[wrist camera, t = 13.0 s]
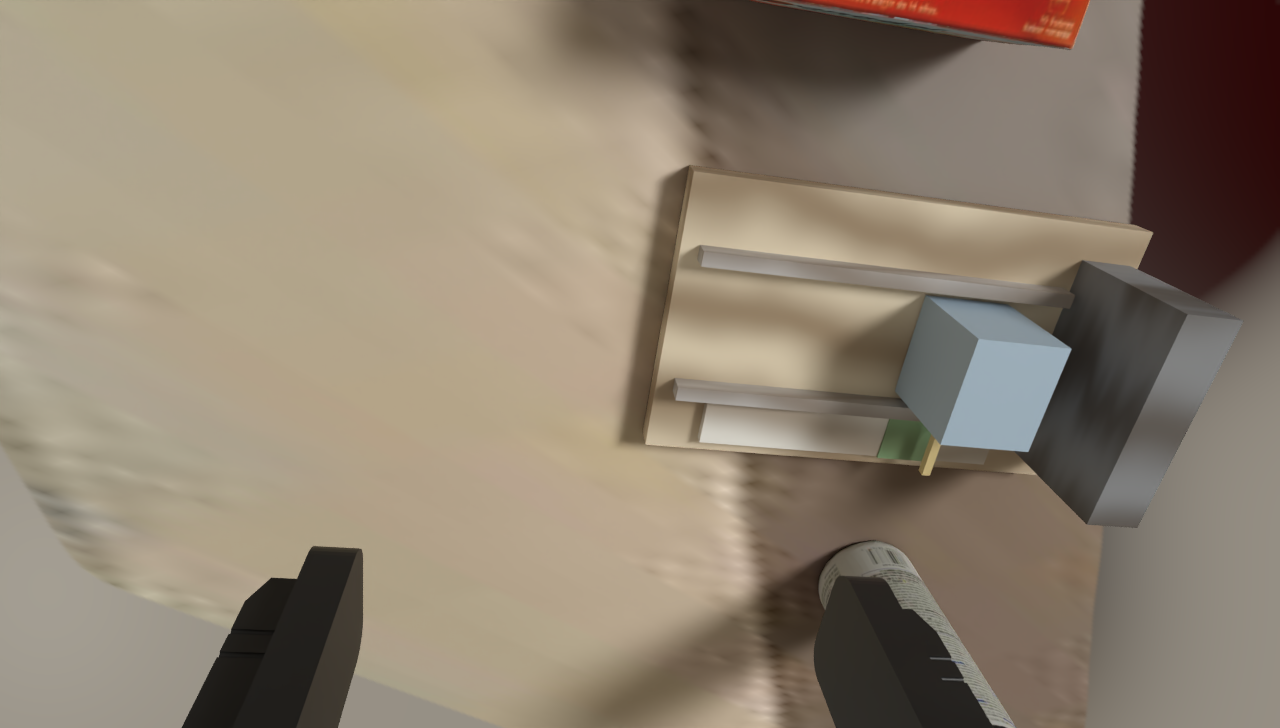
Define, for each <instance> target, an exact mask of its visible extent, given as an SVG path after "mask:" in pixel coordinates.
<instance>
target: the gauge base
mask: <svg viewBox="0 0 1280 728" xmlns="http://www.w3.org/2000/svg"><path fill="white" fill-rule="evenodd" d="M1152 234H1153V232H1151V231H1148V230H1145V229H1143V228H1141V227H1138V226H1136V225H1130V224H1123V223H1115V222H1108V221H1100V220H1093V219H1086V218H1078V217H1071V216H1063V215H1056V214H1048V213H1041V212H1034V211H1026V210H1019V209H1011V208H1004V207H997V206H989V205H982V204H974V203H967V202H959V201H952V200H945V199H937V198H930V197H922V196H915V195H908V194H900V193H893V192H885V191H878V190H870V189H863V188H856V187H848V186H841V185H833V184H826V183H819V182H811V181H804V180H796V179H789V178H782V177H774V176H767V175H759V174H752V173H744V172H737V171H730V170H722V169H715V168H707V167H700V166H693V165H689V170H688V176H687V181H686V187H685V193H684V199H683V204H682V210H681V216H680V221H679V227H678V233H677V238H676V244H675V250H674V256H673V261H672V267H671V273H670V278H669V284H668V290H667V296H666V301H665V307H664V313H663V318H662V324H661V330H660V336H659V341H658V347H657V353H656V358H655V364H654V370H653V376H652V381H651V387H650V393H649V398H648V404H647V410H646V416H645V421H644V427H643V436H644V441H645V445H656V446H669V447H682V448H695V449H708V450H721V451H734V452H747V453H760V454H773V455H786V456H799V457H812V458H825V459H838V460H851V461H864V462H877V463H890V464H903V465H916V466H920V464H921V462H922V459H923V456H924V453H925V450H926V448H927V445H928V442H929V439H930V436H931V433H930V432H929V431H928V430H927V428H926V427H925V426H924V425H923V424H922V423H921V421H920V420H919V419H918V418H917V417H916V415H915V414H914V413H913V412H912V411H911V410H910V408H909V407H908V406H907V405H906V404H905V402H904V401H903V400H902V399H901V398H900V397H899V395H898V394H897V393H896V392H895V388H896V385H897V382H898V379H899V376H900V373H901V370H902V367H903V364H904V360H905V357H906V354H907V351H908V348H909V345H910V342H911V339H912V336H913V333H914V330H915V326H916V323H917V320H918V317H919V314H920V311H921V308H922V305H923V302H924V299H925V296H926V295H929V296H938V297H947V298H955V299H964V300H973V301H982V302H991V303H999V304H1008V305H1009V306H1011V307H1012V308H1014V309H1015V310H1017V311H1018V312H1020V313H1021V314H1022V315H1024V316H1025V317H1027V318H1028V319H1030V320H1031V321H1032V322H1034V323H1035V324H1037V325H1038V326H1040V327H1041V328H1043V329H1044V330H1045V331H1047V332H1048V333H1050V334H1051V335H1053V336H1054V337H1055V338H1057V339H1058V340H1060V341H1061V342H1063V343H1064V344H1065V345H1067V346H1068V347H1070V348H1071V352H1070V354H1069V356H1068V359H1067V361H1066V364H1065V366H1064V368H1063V371H1062V373H1061V375H1060V378H1059V380H1058V383H1057V385H1056V387H1055V390H1054V392H1053V394H1052V397H1051V399H1050V402H1049V404H1048V406H1047V409H1046V411H1045V413H1044V416H1043V418H1042V421H1041V423H1040V425H1039V428H1038V430H1037V432H1036V435H1035V437H1034V440H1033V442H1032V444H1031V447H1030V449H1029V451H1028V452H1022V451H1010V450H997V449H985V448H973V447H961V446H949V445H941V446H940V449H939V452H938V454H937V457H936V460H935V463H934V465H933V467H942V468H954V469H967V470H980V471H993V472H1006V473H1019V474H1032V475H1038V476H1039V477H1040V478H1041V479H1042V480H1043V481H1044V482H1045V483H1046V484H1047V485H1048V486H1049V487H1050V488H1051V489H1052V490H1053V491H1054V492H1055V493H1056V494H1057V495H1058V496H1059V497H1060V498H1061V499H1062V500H1063V501H1064V502H1065V503H1066V504H1067V505H1068V506H1069V507H1070V508H1071V509H1072V510H1073V511H1074V512H1075V513H1076V514H1077V515H1078V516H1079V517H1080V518H1081V519H1082V520H1083V521H1084V522H1085V523H1086V524H1087V525H1102V526H1117V527H1131V528H1137V527H1138V525H1139V523H1140V522H1141V520H1142V518H1143V515H1144V513H1145V512H1146V510H1147V508H1148V506H1149V504H1150V502H1151V500H1152V498H1153V496H1154V494H1155V492H1156V490H1157V488H1158V486H1159V485H1160V483H1161V481H1162V479H1163V477H1164V475H1165V473H1166V471H1167V469H1168V467H1169V465H1170V463H1171V461H1172V459H1173V457H1174V455H1175V453H1176V452H1177V450H1178V447H1179V446H1180V444H1181V442H1182V440H1183V438H1184V436H1185V434H1186V432H1187V430H1188V428H1189V426H1190V424H1191V422H1192V420H1193V418H1194V417H1195V415H1196V412H1197V411H1198V409H1199V407H1200V405H1201V403H1202V401H1203V399H1204V397H1205V395H1206V393H1207V391H1208V389H1209V387H1210V385H1211V383H1212V381H1213V380H1214V378H1215V376H1216V374H1217V372H1218V370H1219V368H1220V366H1221V364H1222V362H1223V360H1224V358H1225V356H1226V354H1227V352H1228V350H1229V348H1230V346H1231V344H1232V343H1233V341H1234V339H1235V337H1236V335H1237V333H1238V331H1239V329H1240V327H1241V325H1242V323H1243V320H1241V319H1239V318H1237V317H1235V316H1233V315H1231V314H1228V313H1226V312H1224V311H1222V310H1220V309H1218V308H1216V307H1214V306H1212V305H1210V304H1208V303H1206V302H1204V301H1202V300H1200V299H1197V298H1195V297H1193V296H1191V295H1189V294H1187V293H1185V292H1183V291H1181V290H1179V289H1177V288H1175V287H1173V286H1171V285H1168V284H1166V283H1164V282H1162V281H1160V280H1158V279H1156V278H1154V277H1152V276H1150V275H1147V274H1146V273H1144V272H1141V271H1139V270H1137V268H1138V266H1139V264H1140V262H1141V259H1142V257H1143V255H1144V253H1145V250H1146V248H1147V246H1148V243H1149V241H1150V239H1151V237H1152Z"/></svg>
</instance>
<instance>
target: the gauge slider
mask: <svg viewBox="0 0 1280 728" xmlns="http://www.w3.org/2000/svg"><path fill="white" fill-rule="evenodd" d="M1070 352H1071V348H1070V347H1068V346H1067V345H1065V344H1064V343H1063V342H1061V341H1060V340H1058V339H1057V338H1055V337H1054V336H1053V335H1051V334H1050V333H1048V332H1047V331H1045V330H1044V329H1043V328H1041V327H1040V326H1038V325H1037V324H1035V323H1034V322H1032V321H1031V320H1030V319H1028V318H1027V317H1025V316H1024V315H1022V314H1021V313H1020V312H1018V311H1017V310H1015V309H1014V308H1012V307H1011V306H1009V305H1008V304H999V303H991V302H982V301H973V300H964V299H955V298H947V297H938V296H929V295H926V296H925V299H924V302H923V305H922V308H921V311H920V314H919V317H918V320H917V323H916V326H915V330H914V333H913V336H912V339H911V342H910V345H909V348H908V351H907V354H906V357H905V360H904V364H903V367H902V370H901V373H900V376H899V379H898V382H897V385H896V388H895V392H896V393H897V394H898V395H899V397H900V398H901V399H902V400H903V401H904V402H905V404H906V405H907V406H908V407H909V408H910V410H911V411H912V412H913V413H914V414H915V415H916V417H917V418H918V419H919V420H920V421H921V423H922V424H923V425H924V426H925V427H926V428H927V430H928V431H929V432H930V433H931V436H930V439H929V442H928V445H927V448H926V450H925V453H924V456H923V459H922V462H921V464H920V467H919V470H918V471H919V472H920V473H921V475H926V476H930V474H931V471H932V468H933V465H934V463H935V460H936V457H937V454H938V452H939V449H940V446H941V445H949V446H961V447H973V448H985V449H997V450H1010V451H1022V452H1028V451H1029V449H1030V447H1031V444H1032V442H1033V440H1034V437H1035V435H1036V432H1037V430H1038V428H1039V425H1040V423H1041V421H1042V418H1043V416H1044V413H1045V411H1046V409H1047V406H1048V404H1049V402H1050V399H1051V397H1052V394H1053V392H1054V390H1055V387H1056V385H1057V383H1058V380H1059V378H1060V375H1061V373H1062V371H1063V368H1064V366H1065V364H1066V361H1067V359H1068V356H1069V354H1070Z"/></svg>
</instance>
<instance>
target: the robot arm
mask: <svg viewBox="0 0 1280 728" xmlns="http://www.w3.org/2000/svg"><path fill="white" fill-rule="evenodd" d="M362 628H363V553H362V550H361V549H358V548H339V547H320V546H313V547H312V548H311V549H310V551H309V553H308V555H307V557H306V560H305V562H304V564H303V566H302V569H301V571H300V573H299V576H298V578H297V579H286V578H271V579H270V580H268V581H267V582H266V583H265V584H264V585H263V586H262V587H261V588H259V589H258V590H257V591H256V592H255V593H254V594H253V595H251V596H250V597H249V598H248V599H247V600H246V601H245V602H244V604H243V606H242V608H241V610H240V612H239V614H238V616H237V618H236V620H235V622H234V624H233V626H232V628H231V634H229V635H228V637H227V638H226V640H225V643H224V644H223V646H222V648H221V650H220V655H219V657H217V659H216V660H215V663H214V664H213V666H212V668H211V670H210V672H209V674H208V676H207V678H206V680H205V682H204V684H203V686H202V688H201V690H200V692H199V694H198V696H197V698H196V700H195V702H194V704H193V706H192V708H191V710H190V712H189V714H188V716H187V718H186V720H185V722H184V724H183V726H182V728H338V725H339V722H340V718H341V715H342V711H343V708H344V704H345V701H346V698H347V694H348V691H349V687H350V683H351V680H352V677H353V673H354V670H355V667H356V663H357V659H358V655H359V650H360V644H361V637H362ZM814 666H815V672H816V676H817V679H818V682H819V684H820V687H821V690H822V692H823V695H824V698H825V700H826V703H827V705H828V708H829V711H830V713H831V716H832V718H833V721H834V724H835V726H836V728H994V727H993V726H992V724H991V722H990V721H989V719H988V717H987V716H986V714H985V712H984V710H983V709H982V707H981V705H980V704H979V702H978V700H977V699H976V697H975V695H974V694H973V692H972V690H971V689H970V687H969V685H968V684H967V683H964V677H963V675H962V674H961V672H960V670H959V669H958V667H957V665H956V663H955V662H952V660H951V655H950V653H949V652H948V650H947V648H946V647H945V645H944V643H943V642H942V640H941V638H940V637H939V635H938V633H937V632H936V631H935V630H934V629H933V628H932V627H931V626H930V625H929V624H928V623H927V622H926V621H925V620H923V619H922V618H921V617H920V616H919V615H918V614H917V613H916V612H915V611H914V610H913V609H902V607H901V605H900V604H899V602H898V600H897V598H896V597H895V595H894V593H893V591H892V589H891V588H890V586H889V584H888V583H887V582H886V580H884V579H883V578H879V577H860V576H839V577H838V578H837V579H836V581H835V582H834V585H833V588H832V591H831V594H830V597H829V600H828V603H827V606H826V609H825V612H824V615H823V619H822V622H821V625H820V628H819V631H818V634H817V637H816V641H815V646H814Z"/></svg>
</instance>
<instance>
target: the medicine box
mask: <svg viewBox="0 0 1280 728" xmlns="http://www.w3.org/2000/svg"><path fill="white" fill-rule="evenodd" d="M750 1H755V2H760V3H766V4H771V5H776V6H782V7H788V8H793V9H799V10H805V11H811V12H817V13H822V14H828V15H834V16H839V17H845V18H851V19H856V20H862V21H868V22H875V23H880V24H886V25H891V26H897V27H902V28H908V29H915V30H921V31H926V32H932V33H939V34H944V35H950V36H956V37H962V38H969V39H975V40H982V41H991V42H999V43H1008V44H1017V45H1032V46H1043V47H1051V48H1059V49H1067V50H1071V49H1072V48H1073V46H1074V44H1075V41H1076V38H1077V35H1078V33H1079V30H1080V27H1081V25H1082V22H1083V19H1084V16H1085V14H1086V11H1087V8H1088V5H1089V3H1090V0H750Z"/></svg>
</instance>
